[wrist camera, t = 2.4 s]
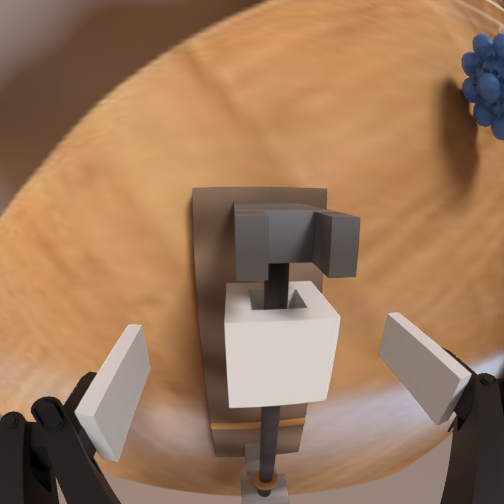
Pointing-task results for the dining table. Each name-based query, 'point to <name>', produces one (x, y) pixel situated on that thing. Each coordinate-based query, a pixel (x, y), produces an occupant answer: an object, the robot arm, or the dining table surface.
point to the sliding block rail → (275, 297)
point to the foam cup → (501, 30)
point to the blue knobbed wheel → (486, 82)
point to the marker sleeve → (278, 346)
